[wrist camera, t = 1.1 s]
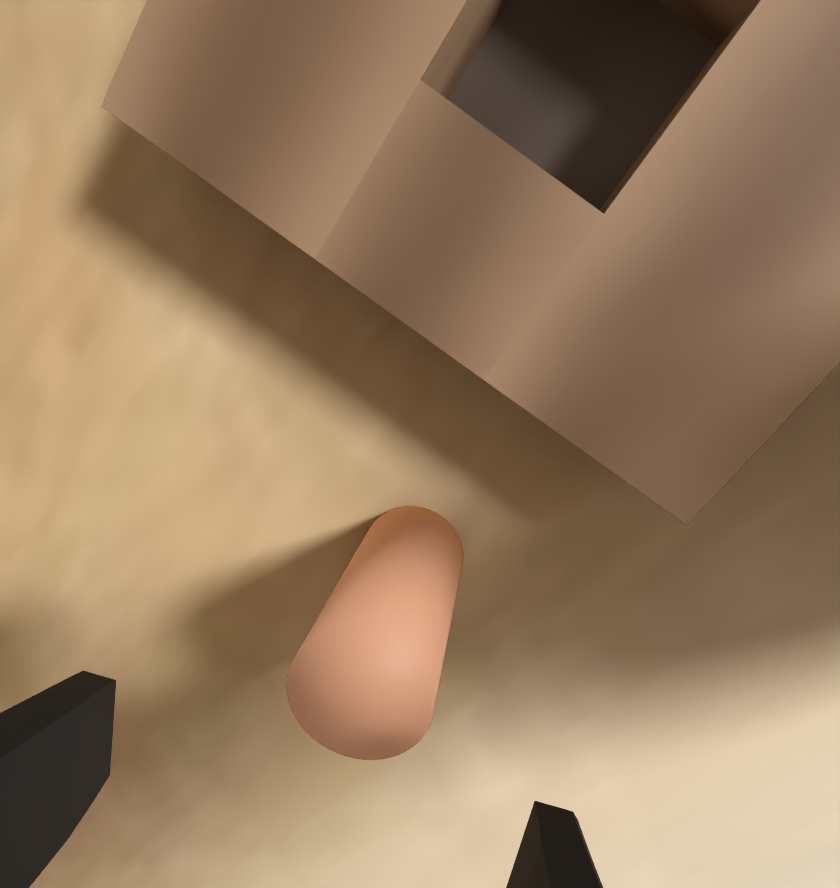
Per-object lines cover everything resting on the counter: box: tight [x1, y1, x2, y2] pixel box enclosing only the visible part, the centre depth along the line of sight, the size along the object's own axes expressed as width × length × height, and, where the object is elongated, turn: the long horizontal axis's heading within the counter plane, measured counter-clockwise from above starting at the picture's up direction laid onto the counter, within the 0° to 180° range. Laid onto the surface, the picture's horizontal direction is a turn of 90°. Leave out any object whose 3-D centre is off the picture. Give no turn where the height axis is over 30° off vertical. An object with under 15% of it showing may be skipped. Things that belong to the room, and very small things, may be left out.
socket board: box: [101, 0, 840, 525], centre depth 14 cm, size 16×13×4 cm
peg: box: [287, 506, 463, 760], centre depth 17 cm, size 3×3×7 cm
